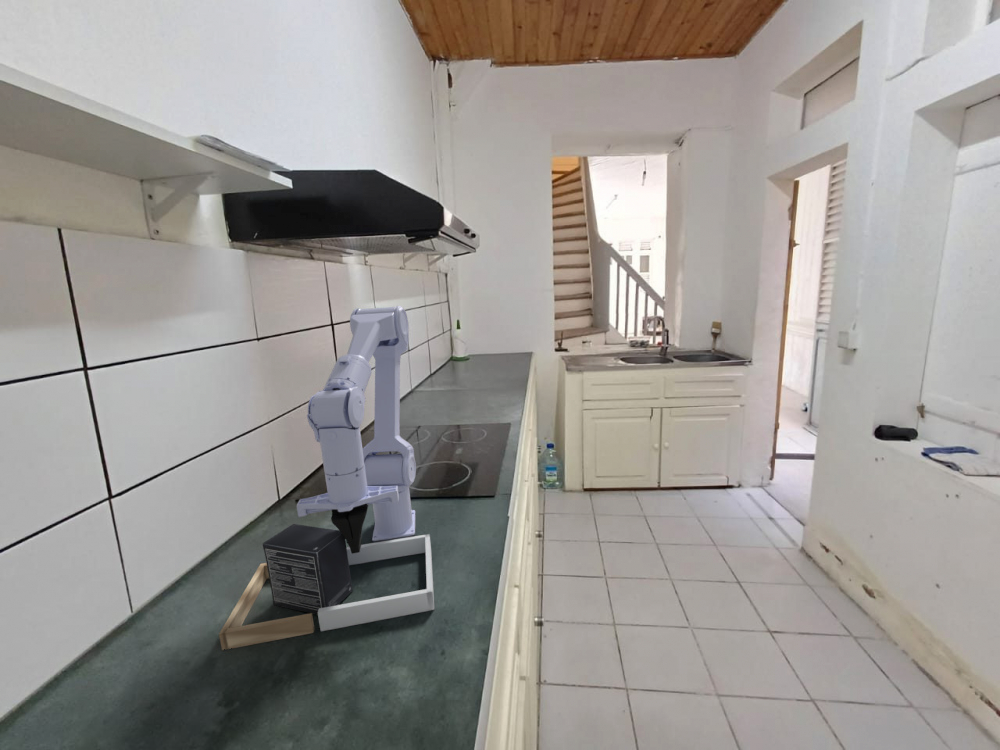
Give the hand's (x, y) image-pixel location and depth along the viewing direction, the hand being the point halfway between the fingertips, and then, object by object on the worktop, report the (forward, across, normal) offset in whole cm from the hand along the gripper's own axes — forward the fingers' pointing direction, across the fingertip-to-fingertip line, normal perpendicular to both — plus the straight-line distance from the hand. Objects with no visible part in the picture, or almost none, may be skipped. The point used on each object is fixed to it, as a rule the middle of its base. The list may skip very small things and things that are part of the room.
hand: (356, 549), depth 66 cm
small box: (+7, -7, 0) cm, 10 cm away
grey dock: (+7, +3, 0) cm, 8 cm away
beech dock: (+7, -11, 0) cm, 13 cm away
